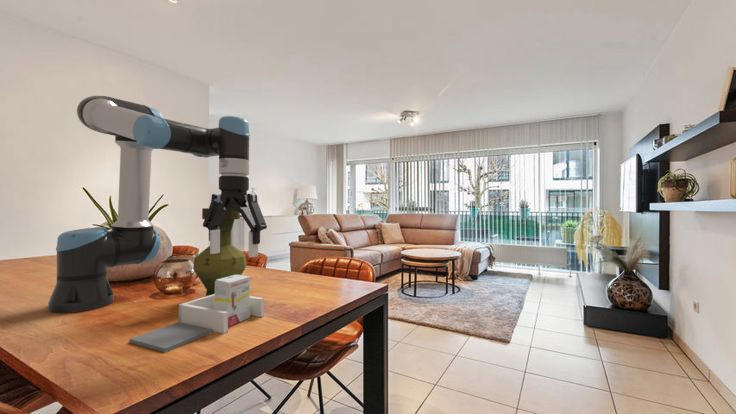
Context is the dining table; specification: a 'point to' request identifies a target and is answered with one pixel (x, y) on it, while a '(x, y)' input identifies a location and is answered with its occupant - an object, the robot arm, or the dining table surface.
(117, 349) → the dining table surface
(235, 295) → the ink box
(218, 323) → the frame
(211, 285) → the vase
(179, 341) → the stand pad
